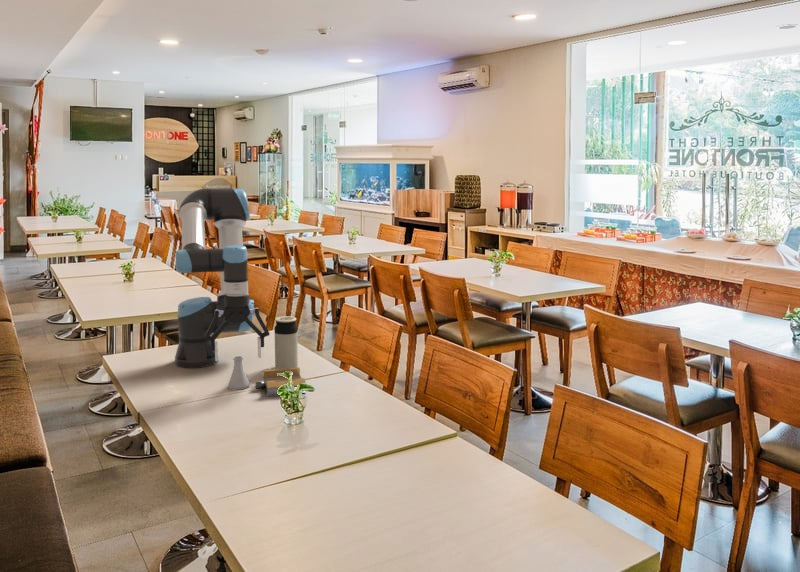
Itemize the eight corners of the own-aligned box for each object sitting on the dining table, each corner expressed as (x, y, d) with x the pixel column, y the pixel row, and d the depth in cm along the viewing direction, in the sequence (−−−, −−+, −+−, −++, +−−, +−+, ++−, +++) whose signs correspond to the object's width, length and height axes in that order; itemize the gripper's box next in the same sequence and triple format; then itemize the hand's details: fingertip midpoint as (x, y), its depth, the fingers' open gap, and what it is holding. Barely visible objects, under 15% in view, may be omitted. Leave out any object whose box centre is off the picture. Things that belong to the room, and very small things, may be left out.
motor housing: (253, 383, 229) (253, 370, 228) (299, 379, 234) (298, 367, 233) (257, 397, 216) (257, 383, 215) (305, 393, 220) (305, 380, 220)
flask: (253, 383, 229) (252, 354, 227) (246, 390, 222) (245, 361, 220) (231, 382, 230) (231, 353, 228) (224, 389, 223) (223, 360, 221)
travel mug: (302, 366, 248) (301, 317, 245) (287, 372, 241) (286, 322, 238) (285, 362, 252) (284, 314, 249) (270, 368, 246) (269, 319, 242)
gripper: (195, 298, 213) (198, 364, 217) (277, 294, 220) (278, 358, 224) (195, 293, 220) (198, 357, 224) (274, 290, 227) (275, 352, 231)
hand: (238, 358), depth 224 cm, fingers open, 13 cm apart
